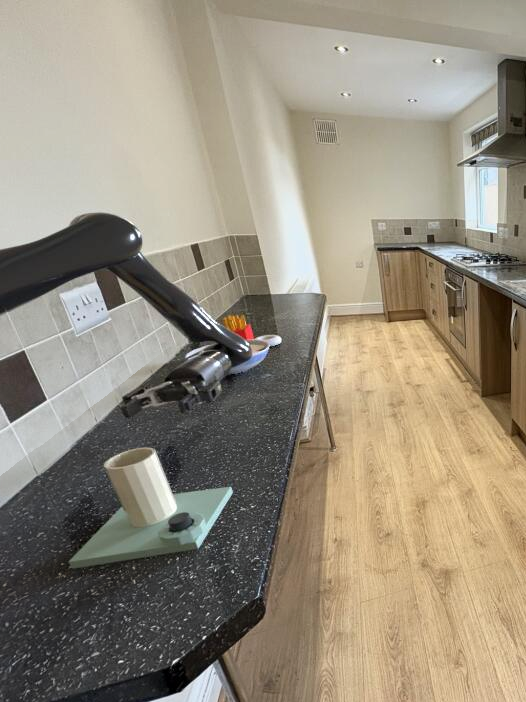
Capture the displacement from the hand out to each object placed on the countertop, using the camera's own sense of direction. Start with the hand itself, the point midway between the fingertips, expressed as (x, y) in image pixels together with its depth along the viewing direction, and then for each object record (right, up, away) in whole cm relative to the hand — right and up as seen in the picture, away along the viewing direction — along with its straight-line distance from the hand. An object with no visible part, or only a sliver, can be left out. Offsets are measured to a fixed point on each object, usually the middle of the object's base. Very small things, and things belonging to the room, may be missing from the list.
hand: (154, 410), depth 72 cm
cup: (+4, -17, -5) cm, 18 cm away
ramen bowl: (-27, +9, +61) cm, 67 cm away
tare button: (+12, -17, -9) cm, 23 cm away
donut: (-31, +19, +86) cm, 94 cm away
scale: (+6, -19, -5) cm, 20 cm away
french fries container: (-34, +15, +76) cm, 85 cm away
